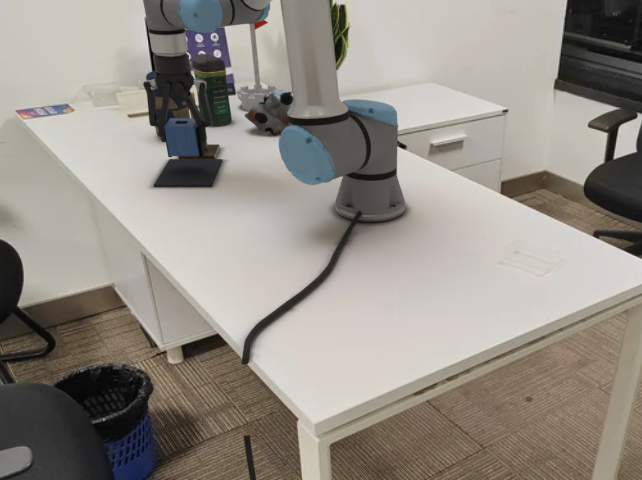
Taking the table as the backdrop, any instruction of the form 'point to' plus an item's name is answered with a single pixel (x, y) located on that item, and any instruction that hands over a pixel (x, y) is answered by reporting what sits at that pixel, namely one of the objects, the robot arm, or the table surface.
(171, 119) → the block
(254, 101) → the flag stand
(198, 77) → the coffee jar
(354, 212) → the robot arm
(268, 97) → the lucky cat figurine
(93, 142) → the table surface
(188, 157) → the stand
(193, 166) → the mat
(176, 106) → the canister
